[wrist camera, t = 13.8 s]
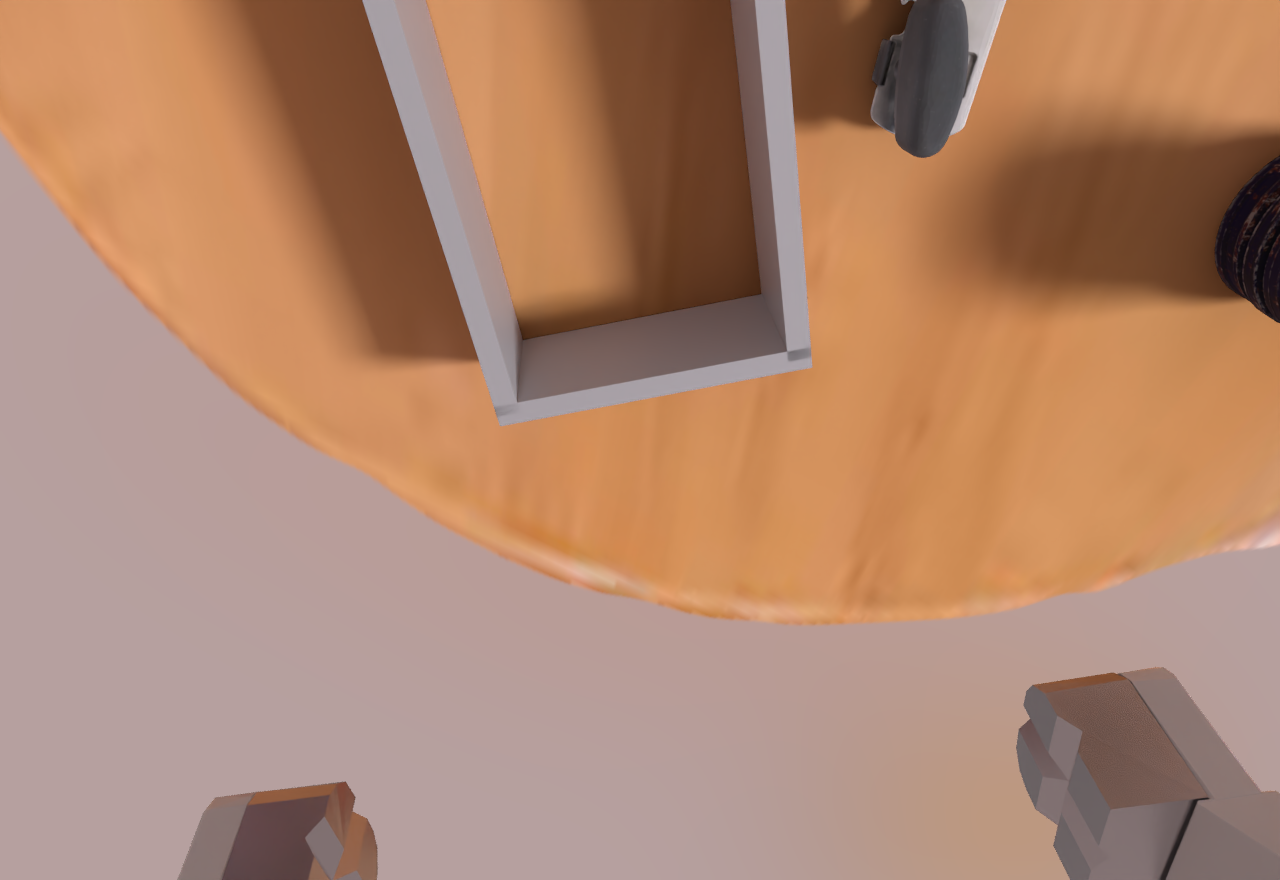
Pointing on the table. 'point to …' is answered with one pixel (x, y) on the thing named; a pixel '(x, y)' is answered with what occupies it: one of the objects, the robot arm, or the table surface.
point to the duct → (632, 349)
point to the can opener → (933, 71)
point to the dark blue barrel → (1253, 242)
